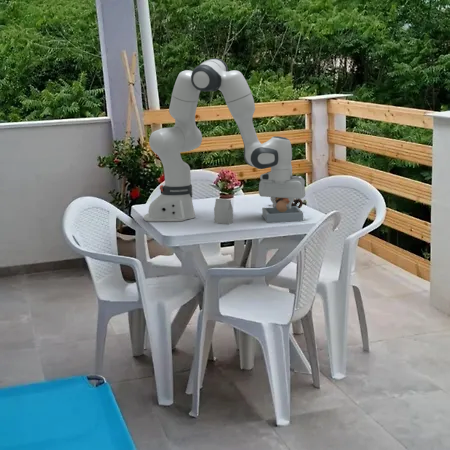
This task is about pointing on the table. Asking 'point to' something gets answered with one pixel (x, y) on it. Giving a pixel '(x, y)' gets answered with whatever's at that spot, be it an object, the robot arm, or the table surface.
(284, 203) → the rubber ball
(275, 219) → the gray square tray
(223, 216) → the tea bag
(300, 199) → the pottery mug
